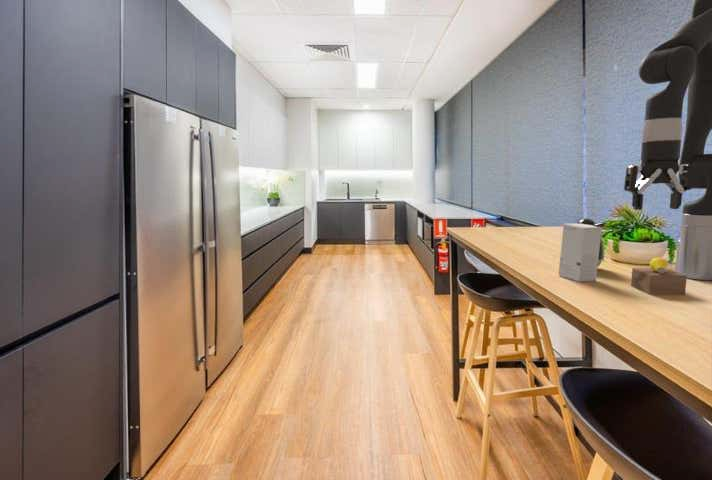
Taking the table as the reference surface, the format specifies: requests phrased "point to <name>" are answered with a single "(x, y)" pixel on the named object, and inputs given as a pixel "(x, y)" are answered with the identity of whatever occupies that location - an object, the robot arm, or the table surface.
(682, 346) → the table surface
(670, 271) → the walnut block
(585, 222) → the pump dispenser
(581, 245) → the skincare box
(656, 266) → the light bulb
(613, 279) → the table surface
